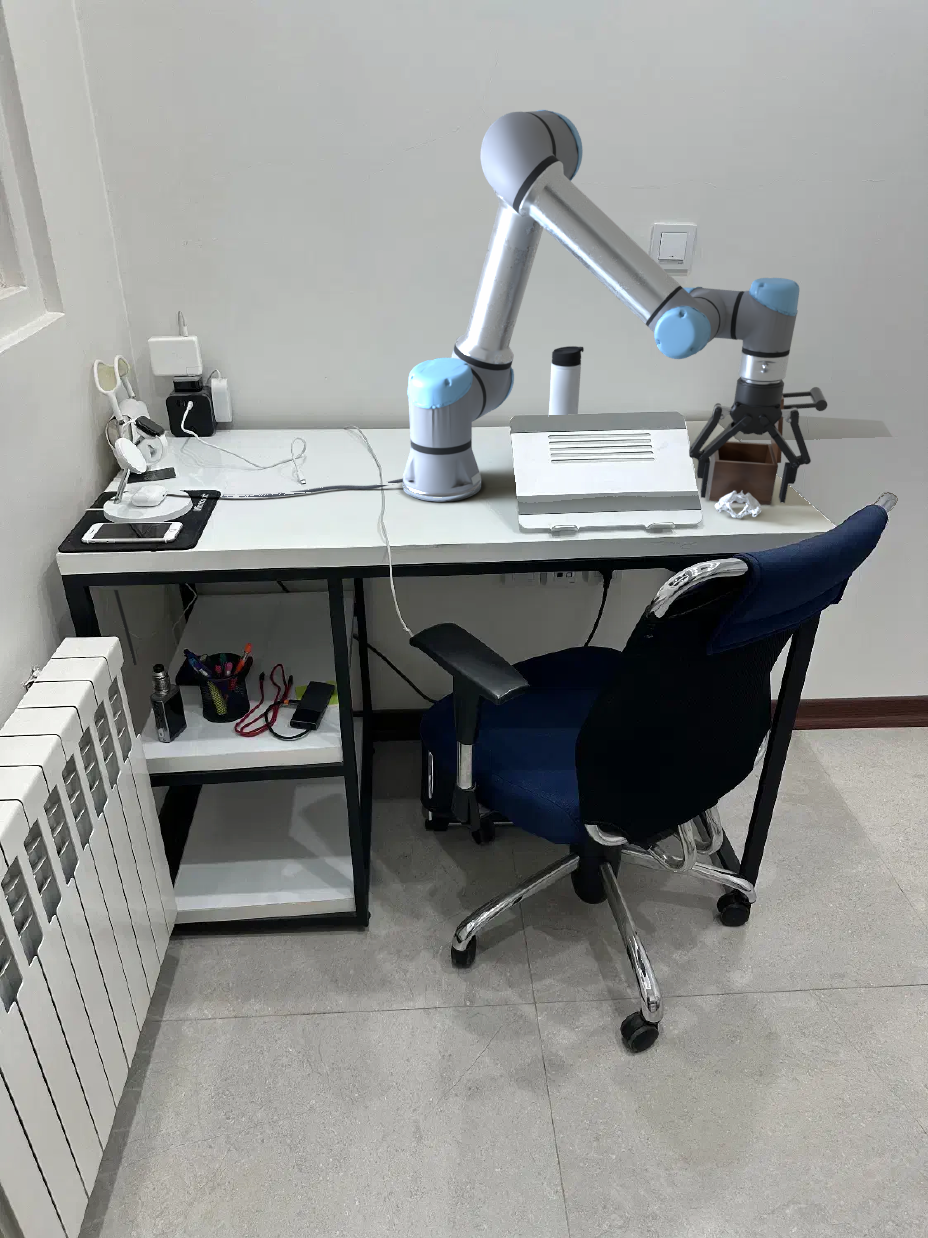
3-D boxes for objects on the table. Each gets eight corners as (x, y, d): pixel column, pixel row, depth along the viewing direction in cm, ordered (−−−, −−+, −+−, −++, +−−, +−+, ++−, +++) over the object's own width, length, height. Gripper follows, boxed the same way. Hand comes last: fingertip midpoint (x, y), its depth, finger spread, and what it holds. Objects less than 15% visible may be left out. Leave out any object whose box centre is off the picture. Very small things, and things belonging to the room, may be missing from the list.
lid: (779, 399, 150) (829, 395, 148) (773, 380, 160) (820, 377, 158) (776, 463, 156) (825, 460, 154) (770, 441, 165) (816, 438, 163)
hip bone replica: (714, 499, 153) (720, 482, 158) (712, 520, 155) (717, 503, 160) (761, 505, 150) (766, 488, 155) (758, 526, 153) (762, 509, 158)
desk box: (708, 500, 162) (714, 461, 158) (707, 477, 171) (712, 439, 167) (770, 505, 160) (778, 465, 156) (765, 481, 169) (772, 443, 165)
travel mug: (576, 444, 188) (582, 351, 178) (546, 442, 189) (550, 349, 179) (578, 435, 193) (584, 344, 183) (549, 433, 194) (553, 342, 184)
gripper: (684, 381, 143) (670, 500, 154) (844, 388, 138) (818, 510, 149) (684, 369, 149) (670, 484, 160) (837, 375, 144) (812, 493, 155)
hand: (741, 497), depth 154 cm, fingers open, 13 cm apart
